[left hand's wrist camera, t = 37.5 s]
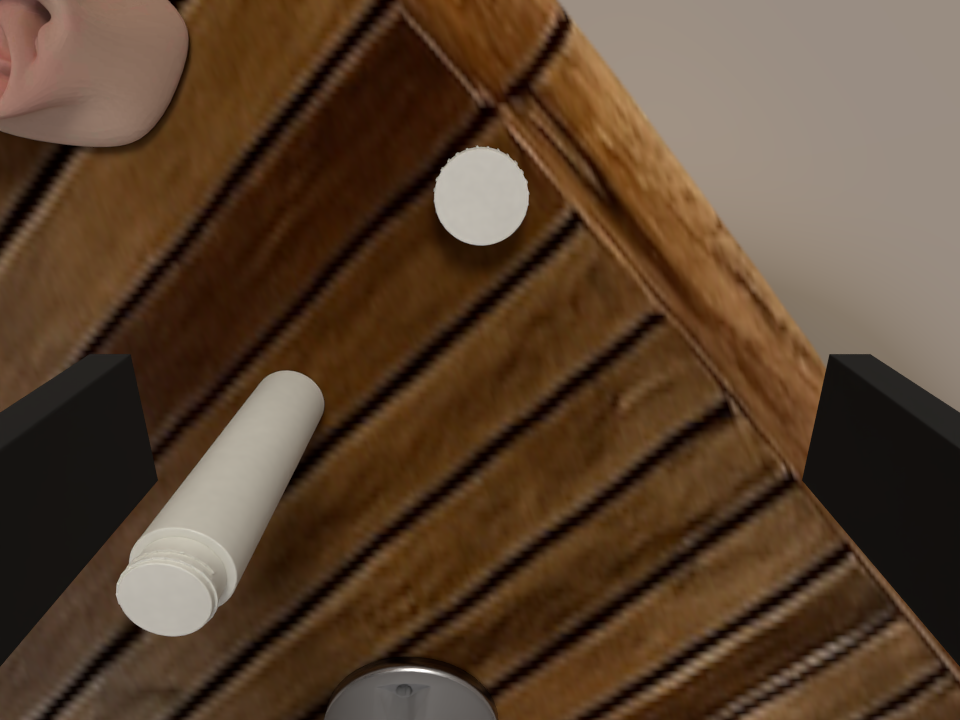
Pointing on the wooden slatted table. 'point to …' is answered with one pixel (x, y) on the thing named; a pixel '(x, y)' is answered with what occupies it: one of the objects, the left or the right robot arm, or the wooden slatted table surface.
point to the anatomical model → (88, 68)
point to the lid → (481, 196)
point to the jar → (220, 510)
